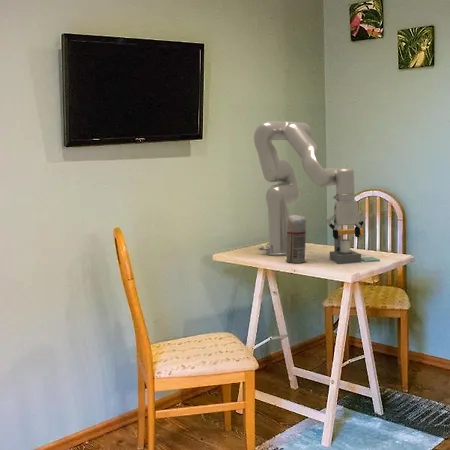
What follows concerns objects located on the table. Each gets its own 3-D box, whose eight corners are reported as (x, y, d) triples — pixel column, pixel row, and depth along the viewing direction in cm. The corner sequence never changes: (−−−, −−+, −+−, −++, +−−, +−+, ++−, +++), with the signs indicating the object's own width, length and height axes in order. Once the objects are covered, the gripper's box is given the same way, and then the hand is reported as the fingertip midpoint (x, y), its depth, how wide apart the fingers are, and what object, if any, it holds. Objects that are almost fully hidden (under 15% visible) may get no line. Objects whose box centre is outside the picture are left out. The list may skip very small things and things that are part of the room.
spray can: (304, 259, 290) (304, 214, 287) (307, 263, 282) (306, 216, 279) (285, 260, 290) (284, 214, 287) (287, 263, 282) (286, 217, 279)
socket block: (338, 264, 279) (338, 255, 278) (329, 259, 288) (329, 251, 288) (361, 262, 281) (361, 254, 280) (351, 257, 290) (351, 250, 290)
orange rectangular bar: (335, 237, 289) (335, 230, 288) (332, 236, 292) (332, 229, 292) (364, 235, 293) (364, 228, 292) (360, 234, 296) (360, 227, 296)
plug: (342, 262, 281) (342, 241, 280) (336, 260, 286) (337, 239, 285) (353, 261, 283) (353, 240, 281) (348, 259, 288) (348, 238, 286)
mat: (364, 262, 281) (364, 260, 281) (357, 259, 287) (357, 257, 287) (380, 261, 282) (380, 259, 282) (372, 257, 289) (372, 256, 289)
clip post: (334, 258, 289) (334, 237, 288) (330, 256, 294) (330, 235, 293) (345, 258, 290) (345, 236, 289) (340, 256, 295) (340, 234, 294)
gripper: (329, 199, 275) (330, 240, 277) (368, 197, 279) (369, 237, 281) (322, 198, 282) (324, 238, 284) (360, 195, 286) (361, 235, 288)
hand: (346, 237), depth 283 cm, fingers open, 9 cm apart
